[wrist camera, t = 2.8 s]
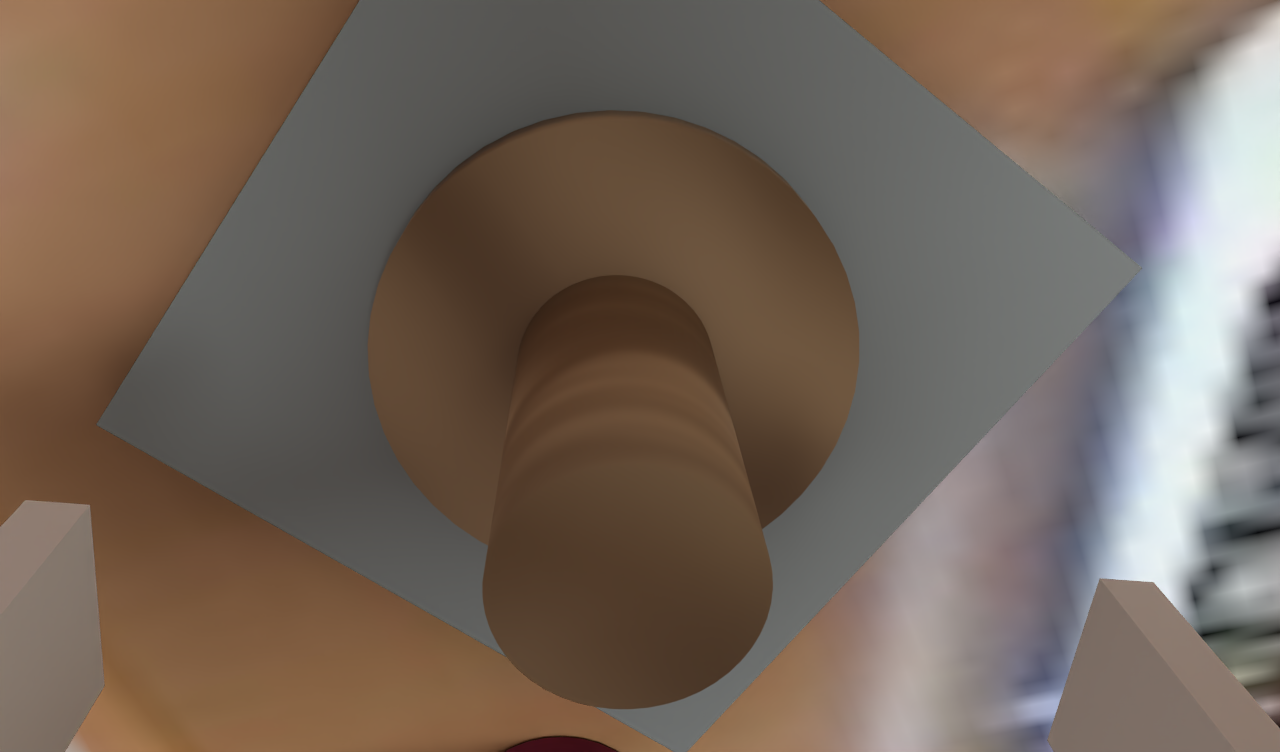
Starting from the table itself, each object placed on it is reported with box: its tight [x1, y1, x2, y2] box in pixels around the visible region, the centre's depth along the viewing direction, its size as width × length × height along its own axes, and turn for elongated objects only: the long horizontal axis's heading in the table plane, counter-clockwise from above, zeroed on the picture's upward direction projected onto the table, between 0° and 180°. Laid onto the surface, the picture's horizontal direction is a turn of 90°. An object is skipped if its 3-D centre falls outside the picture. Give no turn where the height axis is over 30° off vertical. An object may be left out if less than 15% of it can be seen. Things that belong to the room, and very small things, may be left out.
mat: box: [96, 0, 1142, 752], centre depth 24 cm, size 16×16×1 cm
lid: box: [368, 110, 859, 709], centre depth 19 cm, size 10×10×9 cm
